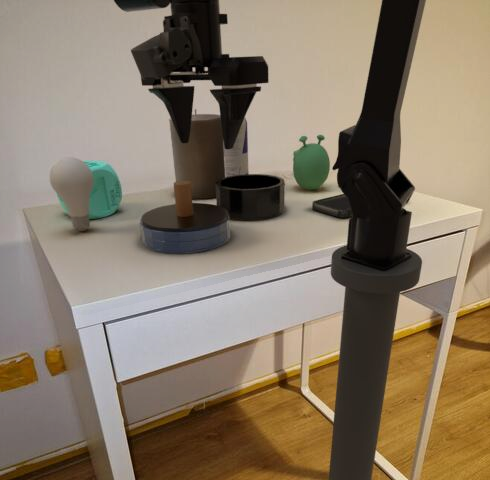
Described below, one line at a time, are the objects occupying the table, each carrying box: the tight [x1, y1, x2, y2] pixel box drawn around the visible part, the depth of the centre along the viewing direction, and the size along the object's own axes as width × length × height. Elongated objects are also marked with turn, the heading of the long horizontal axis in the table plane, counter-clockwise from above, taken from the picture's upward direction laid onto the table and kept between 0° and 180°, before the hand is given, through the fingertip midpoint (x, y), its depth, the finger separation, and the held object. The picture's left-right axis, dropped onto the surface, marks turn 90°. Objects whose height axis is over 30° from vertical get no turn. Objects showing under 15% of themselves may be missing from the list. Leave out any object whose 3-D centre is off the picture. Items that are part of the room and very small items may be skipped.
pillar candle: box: [168, 108, 225, 200], centre depth 87 cm, size 10×10×15 cm
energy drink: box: [223, 117, 250, 177], centre depth 98 cm, size 5×5×12 cm
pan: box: [139, 214, 232, 255], centre depth 68 cm, size 13×13×3 cm
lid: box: [140, 181, 228, 232], centre depth 66 cm, size 12×12×6 cm
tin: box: [215, 173, 286, 222], centre depth 79 cm, size 11×11×5 cm
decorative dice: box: [56, 160, 123, 220], centre depth 79 cm, size 8×8×8 cm
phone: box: [311, 193, 352, 219], centre depth 80 cm, size 8×1×15 cm
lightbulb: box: [49, 156, 94, 232], centre depth 70 cm, size 6×6×11 cm
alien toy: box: [292, 134, 331, 191], centre depth 89 cm, size 7×8×10 cm
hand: (205, 145), depth 62 cm, fingers open, 9 cm apart
